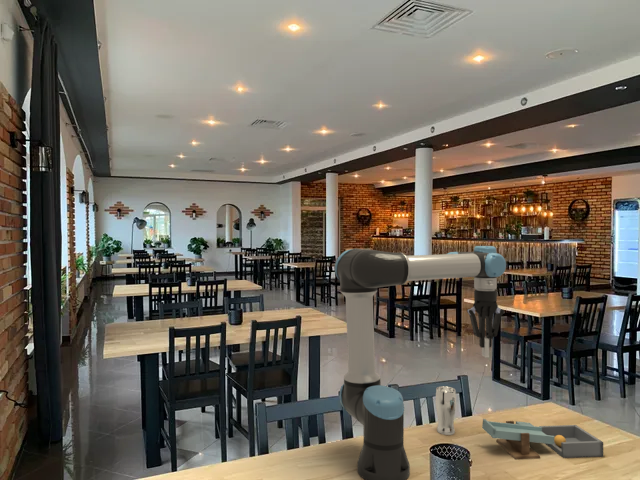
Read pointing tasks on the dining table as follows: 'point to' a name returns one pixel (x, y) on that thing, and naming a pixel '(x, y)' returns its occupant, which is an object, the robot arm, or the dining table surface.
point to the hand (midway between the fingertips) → (485, 356)
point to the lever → (516, 431)
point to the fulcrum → (518, 447)
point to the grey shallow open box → (574, 442)
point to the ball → (559, 440)
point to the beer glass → (445, 409)
